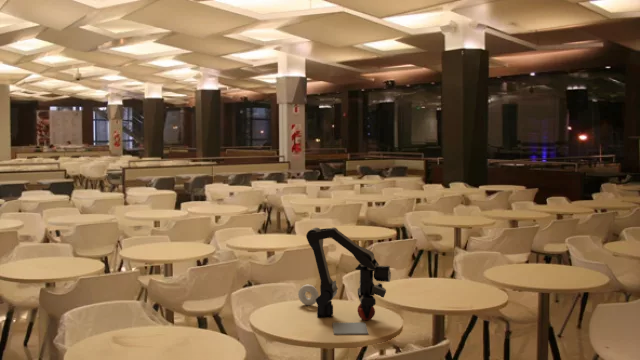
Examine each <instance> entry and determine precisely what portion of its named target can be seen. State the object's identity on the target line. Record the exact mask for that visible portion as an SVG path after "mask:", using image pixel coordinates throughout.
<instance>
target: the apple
mask: <svg viewBox="0 0 640 360" xmlns="http://www.w3.org/2000/svg"><path fill="white" fill-rule="evenodd" d="M357 314H358V316H359V319H361V320H363V321H369V320H371V319H372V318H374V317H375V314H376V309H375V307H374V306H372V307H371V310H370V314H369V318H366V317H365V314H364V312H363V309H362V306H361V303H359V305H358V307H357Z"/></svg>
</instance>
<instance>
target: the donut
mask: <svg viewBox="0 0 640 360" xmlns="http://www.w3.org/2000/svg"><path fill="white" fill-rule="evenodd" d="M307 292H308V293H310V295H311V297H307V296H306V293H307ZM297 293H298V294H297V295H298V296H297V297H298V298H299V301H300V302H301V303H302V304H303V305H306V306H312V305H315V304H317V303H316V299H317V298H318V297H319V296H320V294H319V291H318V289H317V288H316V287H315V286H314V285H312V284H308V283H307V284H304V285H302V286H301V287H300V288H299V290H298V292H297Z"/></svg>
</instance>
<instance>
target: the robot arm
mask: <svg viewBox="0 0 640 360" xmlns="http://www.w3.org/2000/svg"><path fill="white" fill-rule="evenodd" d="M326 239H332V240H334V241H335V242H336V243H338V244H339V245H340V246H341V247H343V248H344V249H346V250H347V251H348V252H349V253H351V254H352V255H353V257H354V259H355V260H356V261H357V262H358V263H359V264H358V265H357V266H356V267H355V271H359V287H358V288H357V296H358V297H357V298H358V299H359V301H360V303H361V306H362V309H363V312H364V314H365V317H366V318H369V314H370V310H371V307H372V306H373V307H374V306H376V303H377V301H376V298H375V295H376V296H379V297H380V298H385V296H386V293H387V289H386V288H385V287H383V284H382V283H377V284H375V282H374V280H375V281H377V282H386V283H390V281H391V277H392V272H391V268H390V265H380V263H378V260H377V259H376V258H375V253H374V252H373V251H372V250H369V249H368V248H366V247H363V246H361V245H359V244H357V243H356V242H354V241H353V240H351V239H350V238H349V237H347V236H346V235H345V234H344V233H342V232H341V231H340V230H338V228H337V227H335V226H334V227H333V226H332V227H331V228H329V227H326V228H320V227H314V228H312V229H310V230H308V232H307V233H306V240H307V242H308V245H309V246H310V248H311V250H312V251H313V256H314V259H315V263H316V268H317V271H318V276H319V279H320V286H319V289H320V294H319V297H318V298H317V299H316V303H315V304H316V306H317V310H316V317H317V318H333V315H334V304H332V301H333V299H334V298H335V296H337V293H338V290H339V288H338V286H337V280H332V278H331V273H330V271H329V267H328V266H329V265H328V262H327V259H326V254H325V250H324V240H326ZM360 303H359V304H360Z"/></svg>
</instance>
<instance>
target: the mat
mask: <svg viewBox="0 0 640 360" xmlns="http://www.w3.org/2000/svg"><path fill="white" fill-rule="evenodd" d="M332 330H333V335H334V336H335V335H336V336H342V335H343V336H347V335H348V336H352V335H353V336H354V335H355V336H357V335H359V336H364V335H369V330H368V327H367V323H366V322H364V321H363V322H360V321H359V322H332Z"/></svg>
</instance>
